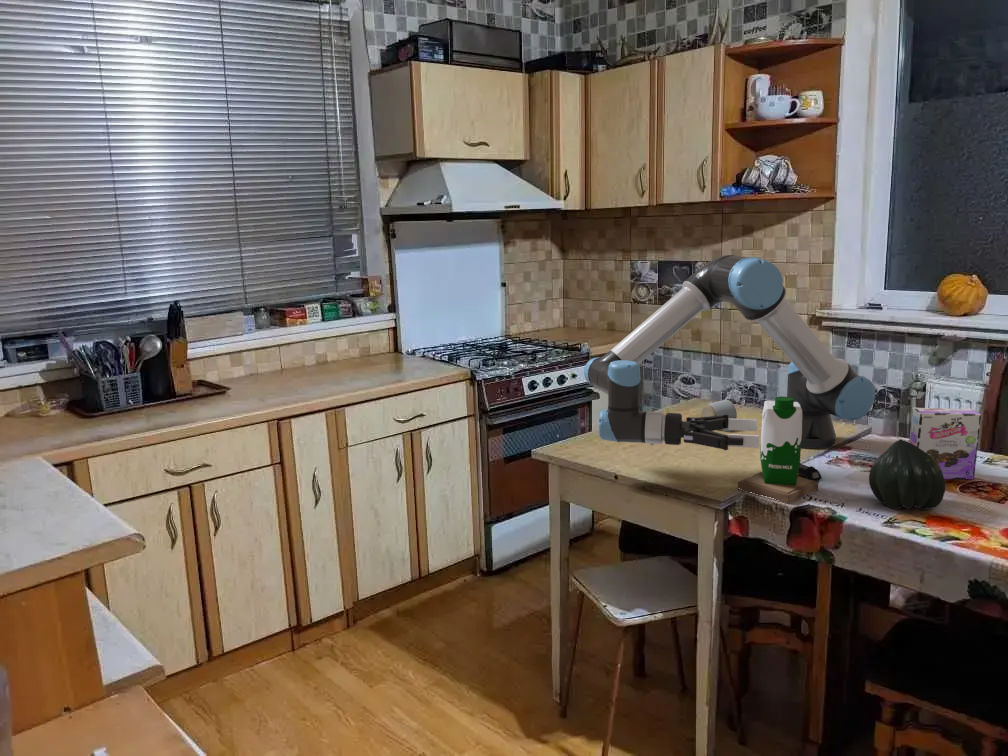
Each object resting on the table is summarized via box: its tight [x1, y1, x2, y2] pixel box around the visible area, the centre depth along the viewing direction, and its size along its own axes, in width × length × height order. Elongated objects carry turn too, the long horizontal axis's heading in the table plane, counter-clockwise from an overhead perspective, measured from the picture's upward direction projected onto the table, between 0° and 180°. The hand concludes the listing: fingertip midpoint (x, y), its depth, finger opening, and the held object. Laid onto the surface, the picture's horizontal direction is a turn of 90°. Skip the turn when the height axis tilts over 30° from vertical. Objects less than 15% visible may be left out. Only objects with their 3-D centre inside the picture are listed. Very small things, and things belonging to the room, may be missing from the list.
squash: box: [868, 438, 946, 510], centre depth 183 cm, size 14×15×15 cm
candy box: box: [908, 407, 982, 480], centre depth 200 cm, size 14×6×16 cm, turn 82°
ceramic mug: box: [700, 399, 738, 433], centre depth 245 cm, size 11×8×8 cm
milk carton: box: [759, 396, 803, 485], centre depth 192 cm, size 9×9×20 cm
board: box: [737, 471, 820, 505], centre depth 194 cm, size 13×13×2 cm
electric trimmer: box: [798, 463, 822, 482], centre depth 206 cm, size 4×16×3 cm, turn 24°
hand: (757, 433), depth 192 cm, fingers open, 13 cm apart
